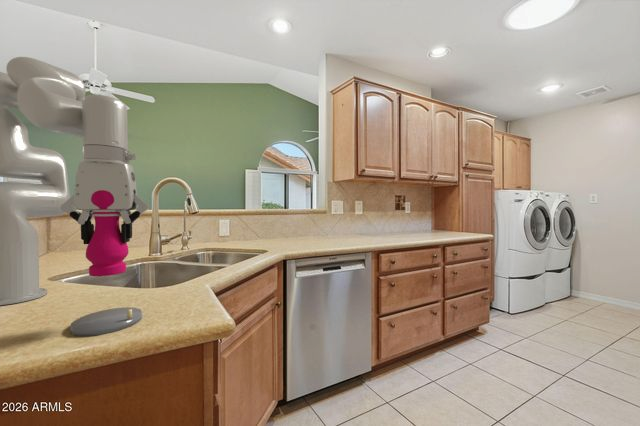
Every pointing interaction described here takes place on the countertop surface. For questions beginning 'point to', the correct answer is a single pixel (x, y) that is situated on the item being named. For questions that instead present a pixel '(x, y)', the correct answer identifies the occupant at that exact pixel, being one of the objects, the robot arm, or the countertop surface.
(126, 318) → the grey flat disc
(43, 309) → the countertop surface
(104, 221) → the pepper mill
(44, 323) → the countertop surface
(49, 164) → the robot arm
